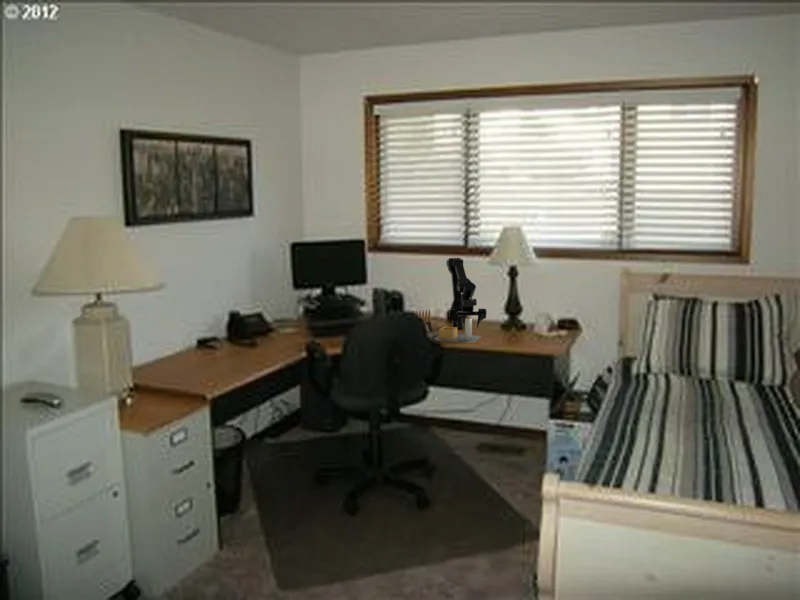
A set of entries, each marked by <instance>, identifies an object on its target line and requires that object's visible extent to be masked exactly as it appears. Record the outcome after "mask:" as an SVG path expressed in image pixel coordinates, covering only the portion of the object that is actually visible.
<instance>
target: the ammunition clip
mask: <svg viewBox="0 0 800 600" xmlns="http://www.w3.org/2000/svg"><path fill="white" fill-rule="evenodd" d="M427 310H428V311H427ZM412 312H414V313H415V315H416V314H418V317H419V316H420V317H421V318H422V319H423V320H424V321H425V323H426V324H427V327H428V329H429V330H430V331H429V332H432V331H433V329H432V316H431V309H425V311H424V309H422V311H421V310H419V311H418V310H413V311H412Z"/></svg>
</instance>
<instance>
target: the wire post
mask: <svg viewBox="0 0 800 600" xmlns="http://www.w3.org/2000/svg"><path fill="white" fill-rule="evenodd" d="M464 326H465V327H464V335H465V341H472V335H473V319H472V318H471V316H466V317H465V319H464Z"/></svg>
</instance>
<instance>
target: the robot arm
mask: <svg viewBox="0 0 800 600" xmlns="http://www.w3.org/2000/svg"><path fill="white" fill-rule="evenodd" d="M446 266H447V271H448V272H449V273H450V275H451V287H452V297H453V300H452V302H451V304H450V309H449V312H448V314H449V315H448V316H449V320H452V325H451V327H457V330H463V329H465V325H464V318H467V316H470V317H471V316H473V317H474V316H477V323H476V324H477V325H476V327H477V329H479V326H480V324H481V322H482V321H484V319H486V318H487V313H488V312H487V309H486V308H478V310H477V311H474V306H475V307H476V306H477V298H473V296H474V295H475V292H476V288H477V286H476V284H475V283H473V282H472V281H471V279H470V278H468V277H467V274H466V271H465V267H464V259H461V257H449V258H448V259H447V260H446Z"/></svg>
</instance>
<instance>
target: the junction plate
mask: <svg viewBox="0 0 800 600" xmlns="http://www.w3.org/2000/svg"><path fill="white" fill-rule="evenodd" d="M438 333H439V334H438V335H437V336H435V337H434V338H433V339H436V340H435V341H440V342H441V341H442V342H456V343H468V344H469V343H470V344H474V343H475V342H476V341H478V340H479V339H480V338H481V337H482V335H473V334H472V341H465V334H459V333H458V329H457V327H452V326H443V327H440V328H439V329H438Z"/></svg>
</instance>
